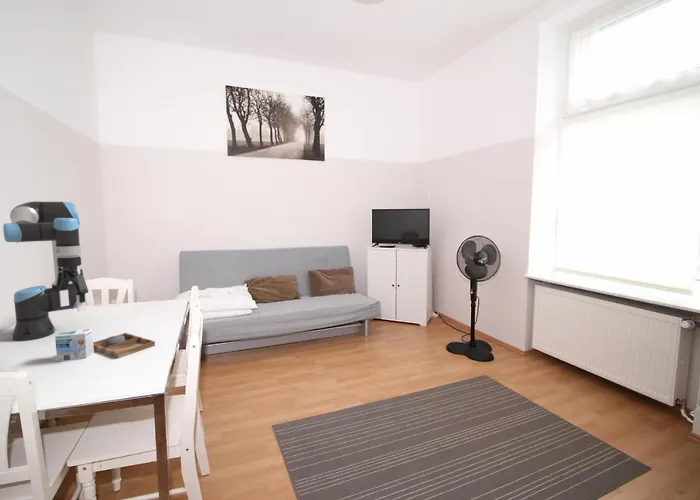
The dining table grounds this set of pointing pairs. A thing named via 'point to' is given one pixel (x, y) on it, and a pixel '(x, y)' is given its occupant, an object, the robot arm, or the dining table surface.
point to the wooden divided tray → (124, 346)
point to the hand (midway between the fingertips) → (73, 308)
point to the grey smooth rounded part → (114, 340)
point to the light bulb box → (74, 344)
